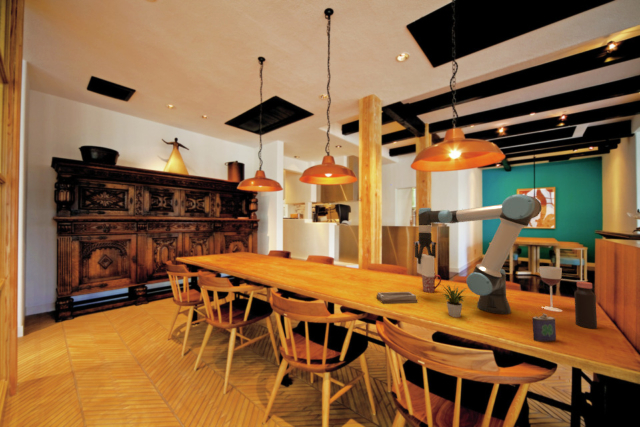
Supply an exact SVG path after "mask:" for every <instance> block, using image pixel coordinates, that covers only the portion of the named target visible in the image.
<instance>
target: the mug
mask: <svg viewBox="0 0 640 427" xmlns="http://www.w3.org/2000/svg"><path fill="white" fill-rule="evenodd" d="M434 273H435V277H426V276H424V275H422V274H421V279H422V291H423V292H424V293H430V294H431V293H435V290H436V288H438V287H439V286H440V284H441V282H442V278H441V277H442V276H440V275H439V274H436V272H435V271H434ZM437 277H438V278H439V282H438V283H437V284H436V283H435V280H436V279H437ZM435 285H436V286H435Z"/></svg>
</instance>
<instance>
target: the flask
mask: <svg viewBox="0 0 640 427" xmlns="http://www.w3.org/2000/svg"><path fill="white" fill-rule="evenodd" d="M541 314H542V315H539V316H537V315H535V316H533V317H532V318H531V319H532V333H533V341H535V342H538V343H550V342H556V341H557V332H556V318H555V317H553V316H548V314H546V313H543V312H542V313H541Z"/></svg>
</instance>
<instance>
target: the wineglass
mask: <svg viewBox="0 0 640 427" xmlns="http://www.w3.org/2000/svg"><path fill="white" fill-rule="evenodd" d="M538 270H539V275H540V278H541V280H542V282H543V283H544V284H547V285H548V286H549V294H550V295H549V296H550V299H549V300H550V302H549V303H550V306H546V305H544V306H545V307H543V306H541V308H542V309H543V308H544V310H546V311H551V312H557V313H558V312H563V309H560V308H557V307H554V306H553V300H554V299H553V286H555V285H558V284H559V283H560V282H561V279H562V273H563V272H562V270H563V268H562V267H557V266H546V265H545V266H544V265H541V266H540V265H539V267H538Z"/></svg>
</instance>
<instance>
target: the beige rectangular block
mask: <svg viewBox="0 0 640 427" xmlns="http://www.w3.org/2000/svg"><path fill="white" fill-rule="evenodd" d="M421 259H422V270H421V269H419V264H418V258H416V273H417V274H420V275H421V276H422V275H424V276H426V277H435V275H436V272H435V258H434V256H430V255H428V254H424V253H422V257H421ZM434 272H435V273H434Z"/></svg>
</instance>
